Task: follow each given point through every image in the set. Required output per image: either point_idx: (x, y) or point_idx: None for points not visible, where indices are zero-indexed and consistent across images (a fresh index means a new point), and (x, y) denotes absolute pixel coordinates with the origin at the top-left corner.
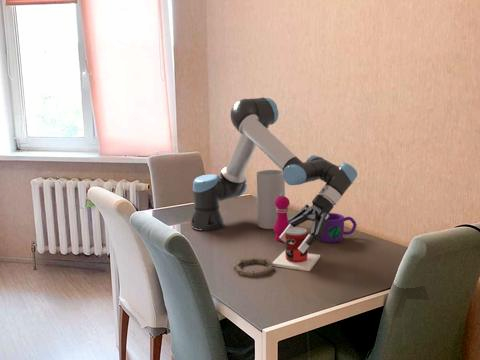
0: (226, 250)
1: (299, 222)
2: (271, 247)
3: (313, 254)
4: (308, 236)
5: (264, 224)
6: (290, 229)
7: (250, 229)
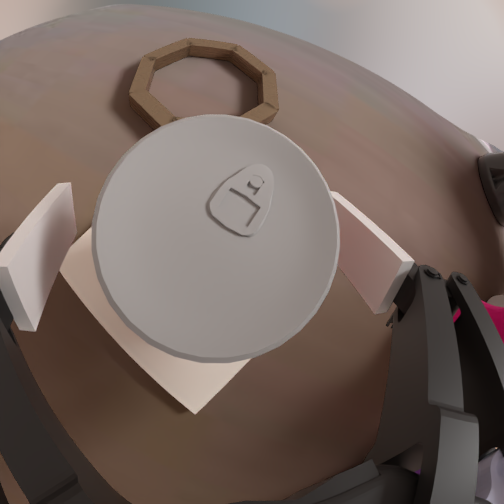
0: (383, 120)
1: (399, 354)
2: None
3: (213, 387)
4: (3, 250)
5: (494, 304)
6: (303, 200)
7: (486, 268)
